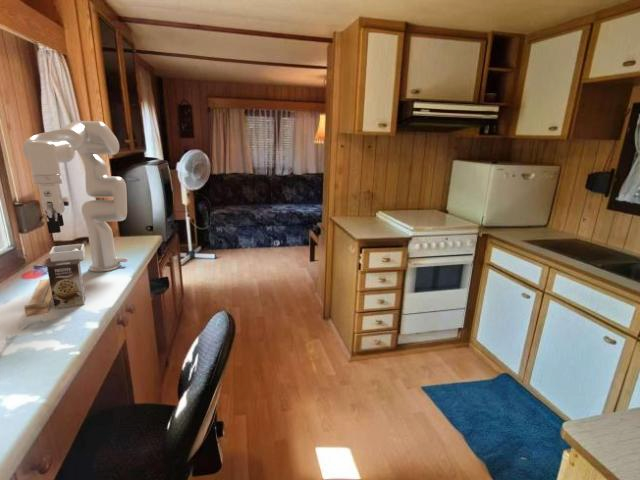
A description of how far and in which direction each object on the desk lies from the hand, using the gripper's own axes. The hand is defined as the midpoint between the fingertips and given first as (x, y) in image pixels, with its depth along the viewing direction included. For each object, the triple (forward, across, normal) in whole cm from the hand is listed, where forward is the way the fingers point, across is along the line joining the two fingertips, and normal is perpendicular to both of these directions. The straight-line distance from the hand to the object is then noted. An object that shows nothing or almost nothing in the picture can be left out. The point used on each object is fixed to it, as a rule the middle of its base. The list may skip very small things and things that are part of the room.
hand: (56, 229), depth 123 cm
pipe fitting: (+29, +59, +3) cm, 66 cm away
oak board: (+28, +10, +9) cm, 31 cm away
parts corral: (+28, +58, +5) cm, 65 cm away
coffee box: (+28, 0, 0) cm, 29 cm away
